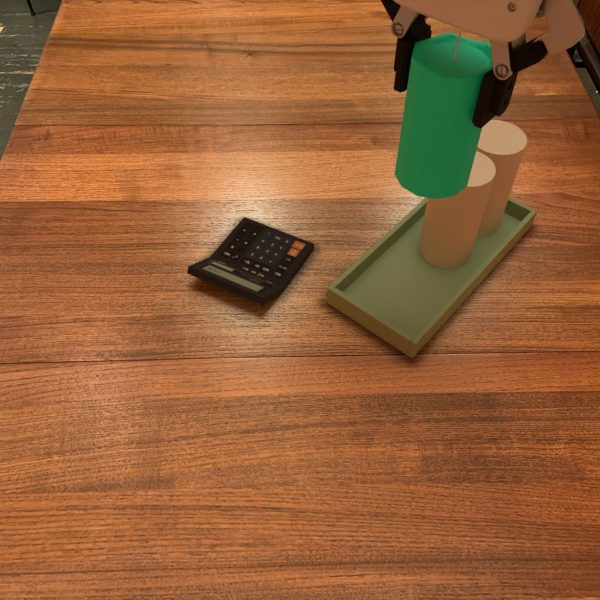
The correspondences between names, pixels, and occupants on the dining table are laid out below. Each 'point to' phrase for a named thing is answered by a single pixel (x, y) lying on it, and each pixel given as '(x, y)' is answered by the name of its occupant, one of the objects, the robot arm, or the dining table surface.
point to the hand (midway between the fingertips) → (447, 98)
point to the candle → (441, 115)
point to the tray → (418, 279)
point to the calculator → (254, 261)
